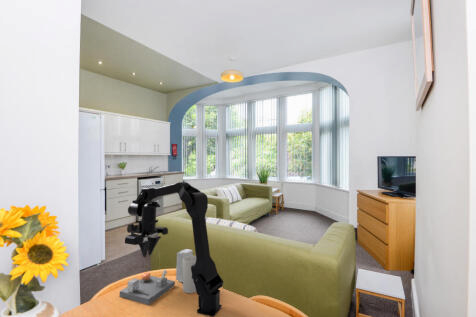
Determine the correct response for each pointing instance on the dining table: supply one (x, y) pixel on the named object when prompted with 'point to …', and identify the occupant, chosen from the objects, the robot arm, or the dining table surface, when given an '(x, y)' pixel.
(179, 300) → the dining table surface
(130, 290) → the block
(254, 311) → the dining table surface
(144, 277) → the push button
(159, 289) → the control panel
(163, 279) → the toggle lever
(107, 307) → the dining table surface
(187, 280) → the mug
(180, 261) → the skincare box
